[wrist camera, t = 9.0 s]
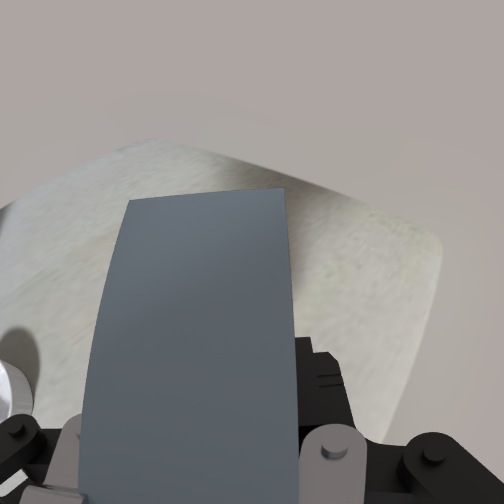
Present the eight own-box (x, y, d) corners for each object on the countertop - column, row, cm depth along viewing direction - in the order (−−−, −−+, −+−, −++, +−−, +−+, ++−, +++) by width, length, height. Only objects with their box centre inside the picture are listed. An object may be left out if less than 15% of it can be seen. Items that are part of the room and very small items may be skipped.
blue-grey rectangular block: (287, 483, 12) (297, 566, 3) (212, 481, 12) (78, 531, 3) (284, 348, 16) (283, 187, 7) (216, 349, 16) (129, 200, 7)
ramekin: (30, 354, 28) (5, 345, 24) (45, 430, 24) (18, 429, 20) (-12, 370, 27) (-36, 362, 23) (0, 437, 23) (-25, 435, 19)
